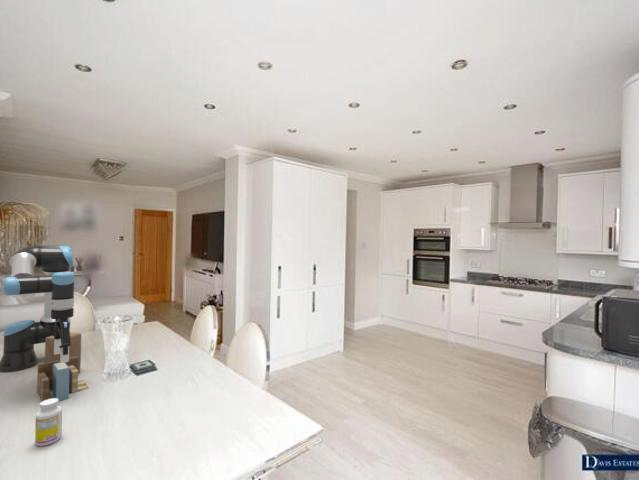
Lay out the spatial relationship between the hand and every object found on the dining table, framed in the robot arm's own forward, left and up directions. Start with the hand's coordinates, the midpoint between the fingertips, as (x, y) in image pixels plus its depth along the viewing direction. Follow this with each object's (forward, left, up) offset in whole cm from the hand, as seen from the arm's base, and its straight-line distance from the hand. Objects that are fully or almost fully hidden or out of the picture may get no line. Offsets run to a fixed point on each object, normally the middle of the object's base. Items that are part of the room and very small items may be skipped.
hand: (61, 358), depth 134 cm
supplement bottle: (+36, -9, -16) cm, 40 cm away
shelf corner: (-4, +1, -16) cm, 17 cm away
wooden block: (-25, +5, -16) cm, 30 cm away
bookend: (-5, +7, -16) cm, 18 cm away
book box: (0, 0, -16) cm, 16 cm away
